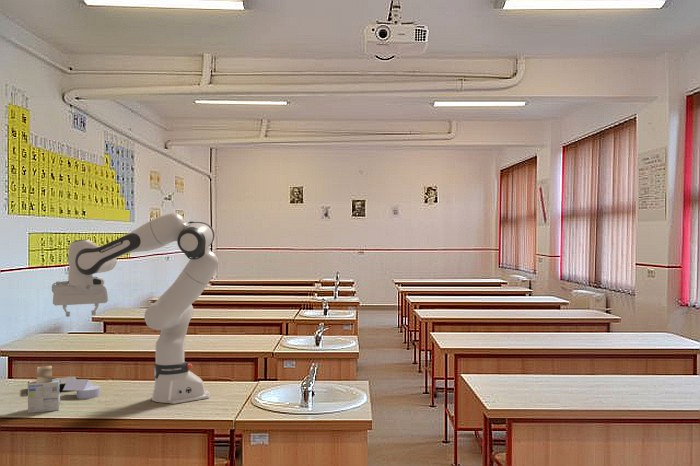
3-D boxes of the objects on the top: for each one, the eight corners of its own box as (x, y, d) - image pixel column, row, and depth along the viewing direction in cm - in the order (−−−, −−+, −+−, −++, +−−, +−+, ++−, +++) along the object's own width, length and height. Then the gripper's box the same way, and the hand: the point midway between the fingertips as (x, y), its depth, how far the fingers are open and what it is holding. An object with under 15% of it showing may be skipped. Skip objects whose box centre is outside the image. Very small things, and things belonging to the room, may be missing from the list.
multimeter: (27, 389, 281) (27, 377, 281) (76, 384, 290) (76, 373, 290) (27, 396, 270) (27, 384, 270) (78, 391, 278) (78, 379, 278)
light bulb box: (60, 406, 253) (60, 377, 253) (59, 410, 247) (59, 381, 247) (29, 409, 249) (28, 380, 249) (27, 413, 243) (27, 384, 243)
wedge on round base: (62, 398, 264) (94, 398, 263) (62, 381, 264) (94, 382, 263) (73, 393, 273) (104, 393, 272) (73, 376, 273) (104, 377, 272)
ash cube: (52, 378, 251) (51, 365, 251) (52, 381, 247) (52, 368, 246) (37, 380, 249) (37, 367, 249) (37, 383, 244) (37, 369, 244)
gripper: (51, 282, 255) (51, 318, 255) (108, 280, 263) (108, 315, 263) (51, 281, 261) (51, 316, 261) (106, 279, 269) (107, 313, 269)
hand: (80, 315), depth 262 cm, fingers open, 8 cm apart
